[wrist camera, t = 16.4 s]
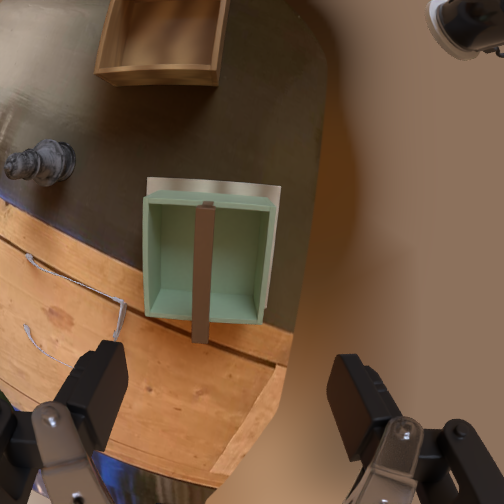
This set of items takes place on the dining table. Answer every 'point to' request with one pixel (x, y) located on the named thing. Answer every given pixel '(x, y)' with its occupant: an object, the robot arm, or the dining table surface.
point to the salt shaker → (42, 163)
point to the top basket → (206, 257)
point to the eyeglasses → (122, 306)
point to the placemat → (221, 188)
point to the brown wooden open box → (162, 42)
